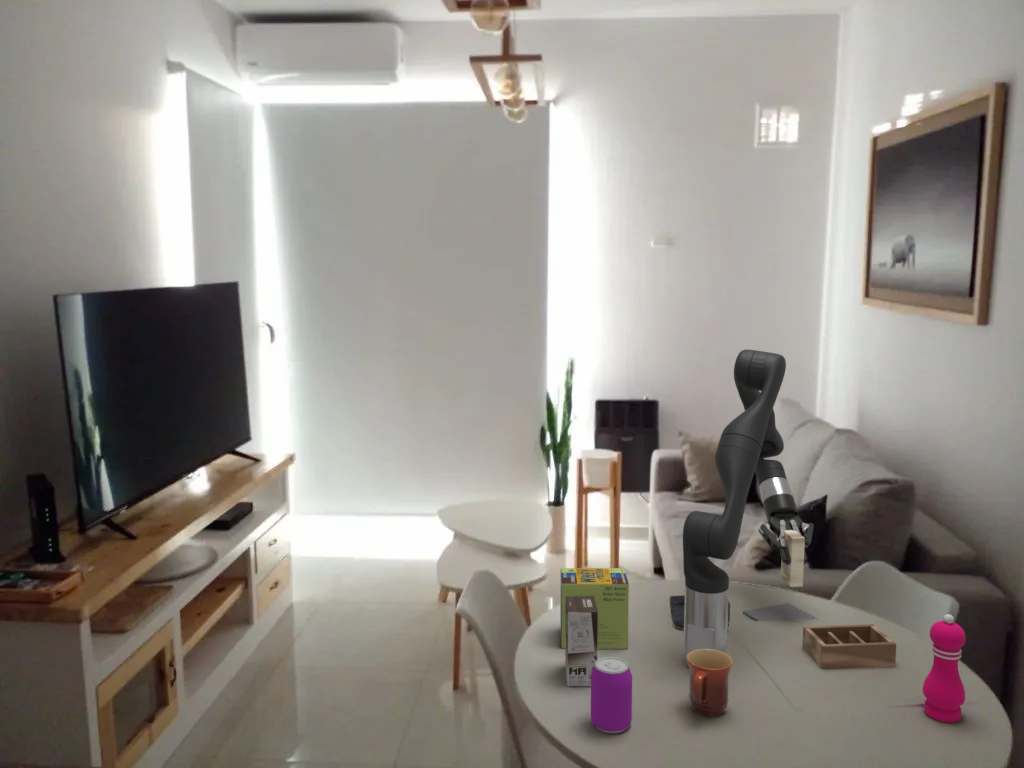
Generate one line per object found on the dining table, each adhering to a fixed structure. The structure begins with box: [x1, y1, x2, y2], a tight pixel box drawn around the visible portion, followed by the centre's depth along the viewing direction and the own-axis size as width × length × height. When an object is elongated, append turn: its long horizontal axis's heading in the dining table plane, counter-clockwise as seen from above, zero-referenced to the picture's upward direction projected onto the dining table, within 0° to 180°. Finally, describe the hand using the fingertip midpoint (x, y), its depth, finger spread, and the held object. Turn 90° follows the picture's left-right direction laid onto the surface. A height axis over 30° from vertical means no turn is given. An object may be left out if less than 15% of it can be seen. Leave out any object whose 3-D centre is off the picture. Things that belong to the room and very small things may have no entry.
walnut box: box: [801, 623, 897, 670], centre depth 177 cm, size 10×16×6 cm, turn 94°
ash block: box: [780, 530, 805, 588], centre depth 195 cm, size 6×3×12 cm, turn 4°
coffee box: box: [564, 596, 598, 687], centre depth 170 cm, size 9×6×16 cm
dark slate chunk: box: [669, 589, 731, 635], centre depth 202 cm, size 15×22×5 cm
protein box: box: [559, 567, 630, 650], centre depth 188 cm, size 10×15×16 cm
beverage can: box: [590, 656, 633, 734], centre depth 152 cm, size 8×8×12 cm
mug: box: [686, 649, 734, 717], centre depth 156 cm, size 12×9×10 cm
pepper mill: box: [922, 613, 967, 724], centre depth 154 cm, size 7×7×20 cm
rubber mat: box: [742, 602, 819, 622], centre depth 197 cm, size 18×14×1 cm
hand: (796, 563), depth 193 cm, fingers closed on ash block, 3 cm apart
